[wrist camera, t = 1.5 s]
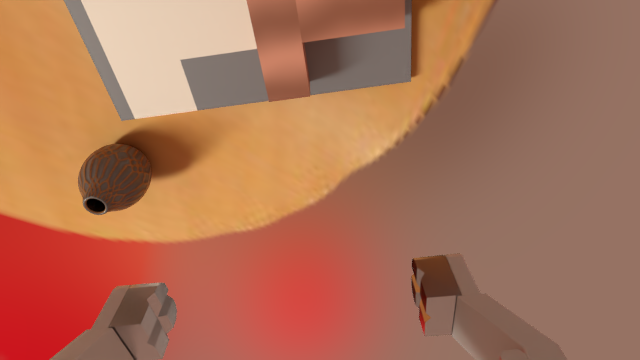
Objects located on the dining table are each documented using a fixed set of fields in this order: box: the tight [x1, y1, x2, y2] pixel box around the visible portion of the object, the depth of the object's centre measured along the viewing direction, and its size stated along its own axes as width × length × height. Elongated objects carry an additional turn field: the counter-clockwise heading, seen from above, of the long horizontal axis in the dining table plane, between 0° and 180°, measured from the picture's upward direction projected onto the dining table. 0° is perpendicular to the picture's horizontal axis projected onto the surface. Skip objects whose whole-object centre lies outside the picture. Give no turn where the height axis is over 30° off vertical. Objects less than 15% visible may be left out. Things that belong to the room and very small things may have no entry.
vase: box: [78, 144, 151, 215], centre depth 41 cm, size 7×7×9 cm
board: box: [64, 0, 412, 121], centre depth 36 cm, size 17×32×1 cm, turn 97°
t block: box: [246, 0, 405, 102], centre depth 33 cm, size 14×13×4 cm
